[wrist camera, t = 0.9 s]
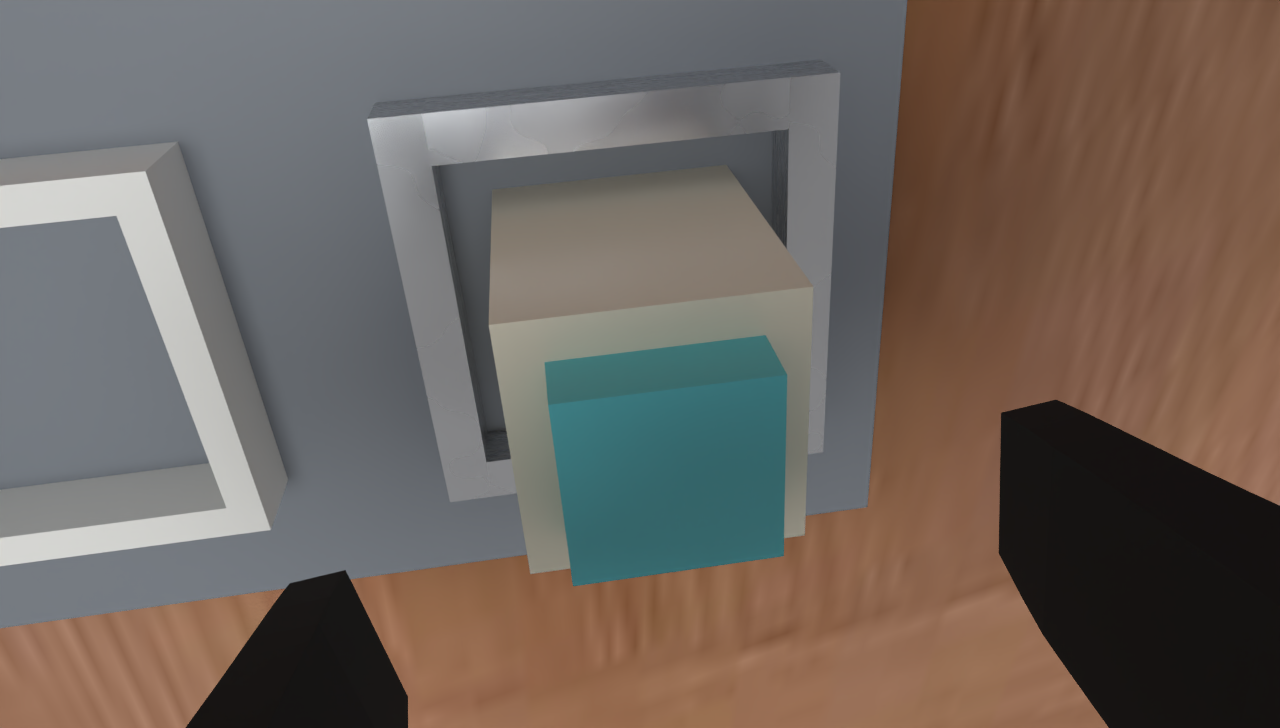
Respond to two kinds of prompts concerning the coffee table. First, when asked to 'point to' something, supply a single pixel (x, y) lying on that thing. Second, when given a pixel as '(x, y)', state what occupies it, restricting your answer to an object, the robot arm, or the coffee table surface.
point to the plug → (650, 373)
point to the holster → (575, 121)
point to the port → (199, 351)
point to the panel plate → (359, 254)
